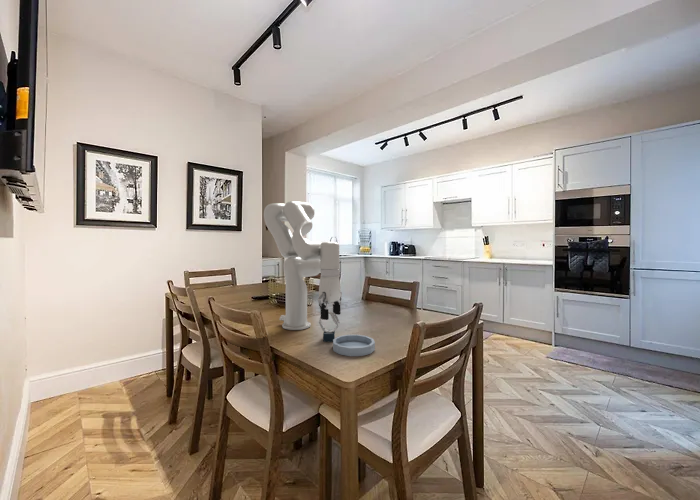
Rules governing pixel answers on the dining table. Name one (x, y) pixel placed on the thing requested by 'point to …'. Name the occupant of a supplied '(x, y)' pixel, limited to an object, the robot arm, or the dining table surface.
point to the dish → (353, 345)
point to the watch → (329, 334)
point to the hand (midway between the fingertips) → (330, 316)
